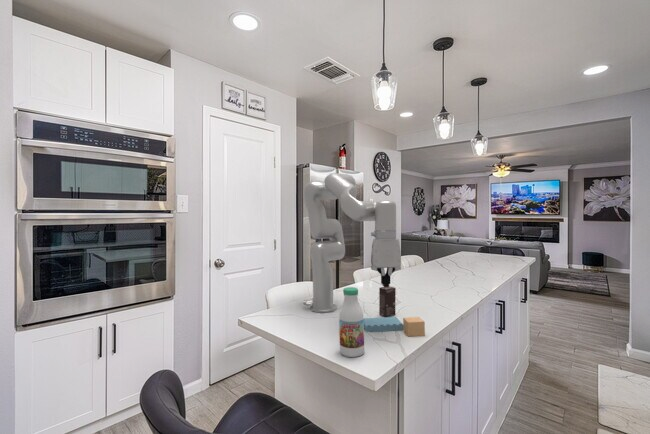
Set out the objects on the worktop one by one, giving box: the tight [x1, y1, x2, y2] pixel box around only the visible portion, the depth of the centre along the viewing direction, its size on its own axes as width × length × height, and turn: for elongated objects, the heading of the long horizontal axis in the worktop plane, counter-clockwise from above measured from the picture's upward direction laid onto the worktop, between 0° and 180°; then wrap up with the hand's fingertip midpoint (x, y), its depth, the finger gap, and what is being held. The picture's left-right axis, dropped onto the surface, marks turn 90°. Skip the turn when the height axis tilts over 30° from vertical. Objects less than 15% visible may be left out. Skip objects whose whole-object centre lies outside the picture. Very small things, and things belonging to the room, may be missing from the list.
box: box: [378, 285, 397, 318], centre depth 126 cm, size 6×4×12 cm
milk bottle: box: [338, 286, 365, 358], centre depth 92 cm, size 8×8×20 cm
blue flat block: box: [363, 316, 403, 333], centre depth 113 cm, size 14×9×2 cm, turn 94°
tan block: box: [402, 316, 426, 338], centre depth 106 cm, size 6×5×5 cm
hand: (385, 286), depth 105 cm, fingers closed
